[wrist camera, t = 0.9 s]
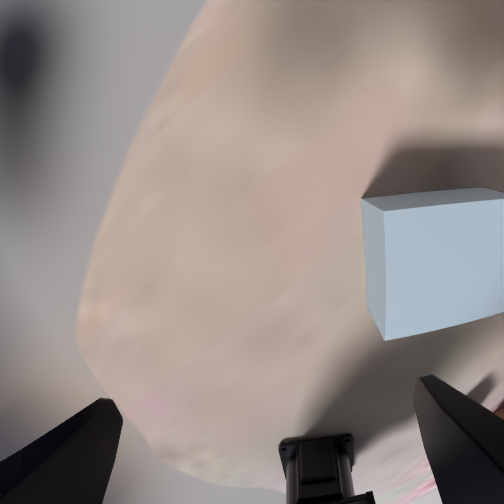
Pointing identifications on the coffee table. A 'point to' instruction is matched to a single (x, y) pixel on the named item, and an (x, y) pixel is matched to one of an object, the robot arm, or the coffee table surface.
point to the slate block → (433, 259)
